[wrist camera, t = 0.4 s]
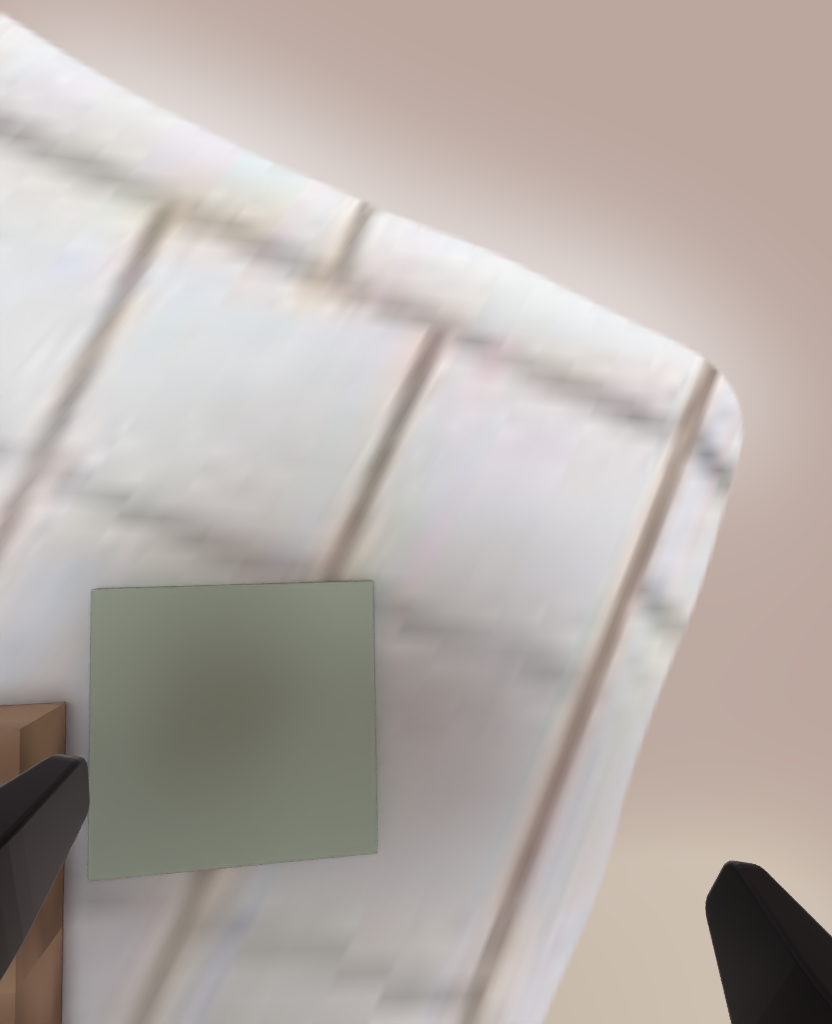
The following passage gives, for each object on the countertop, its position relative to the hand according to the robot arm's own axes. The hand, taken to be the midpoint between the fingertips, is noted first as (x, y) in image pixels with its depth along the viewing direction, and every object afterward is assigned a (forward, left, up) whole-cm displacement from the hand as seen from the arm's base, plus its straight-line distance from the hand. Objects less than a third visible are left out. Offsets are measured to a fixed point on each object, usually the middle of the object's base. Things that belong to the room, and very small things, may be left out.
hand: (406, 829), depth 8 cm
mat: (-2, +4, -14) cm, 15 cm away
